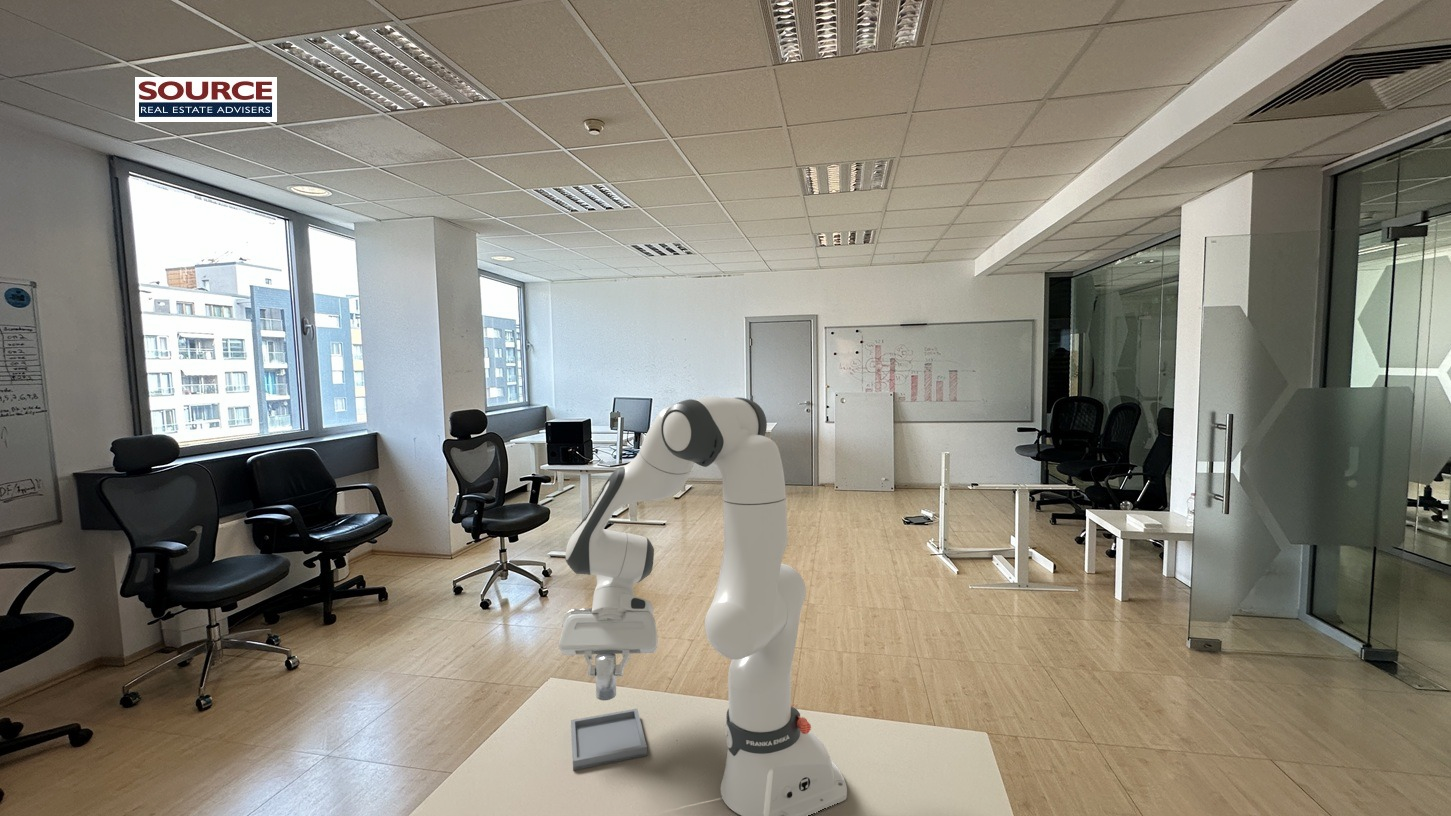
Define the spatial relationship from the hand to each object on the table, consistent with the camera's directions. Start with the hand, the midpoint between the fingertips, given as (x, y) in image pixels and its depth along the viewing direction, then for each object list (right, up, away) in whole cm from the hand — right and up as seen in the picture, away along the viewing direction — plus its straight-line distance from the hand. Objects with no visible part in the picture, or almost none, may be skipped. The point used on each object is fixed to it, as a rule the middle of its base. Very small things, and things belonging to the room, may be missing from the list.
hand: (605, 675), depth 115 cm
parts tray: (0, -14, +1) cm, 14 cm away
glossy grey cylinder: (0, -4, +1) cm, 4 cm away
